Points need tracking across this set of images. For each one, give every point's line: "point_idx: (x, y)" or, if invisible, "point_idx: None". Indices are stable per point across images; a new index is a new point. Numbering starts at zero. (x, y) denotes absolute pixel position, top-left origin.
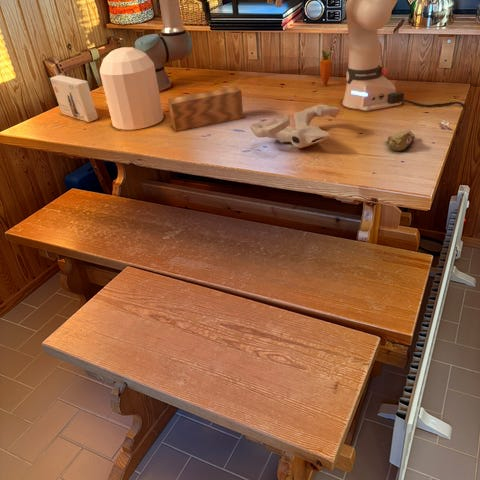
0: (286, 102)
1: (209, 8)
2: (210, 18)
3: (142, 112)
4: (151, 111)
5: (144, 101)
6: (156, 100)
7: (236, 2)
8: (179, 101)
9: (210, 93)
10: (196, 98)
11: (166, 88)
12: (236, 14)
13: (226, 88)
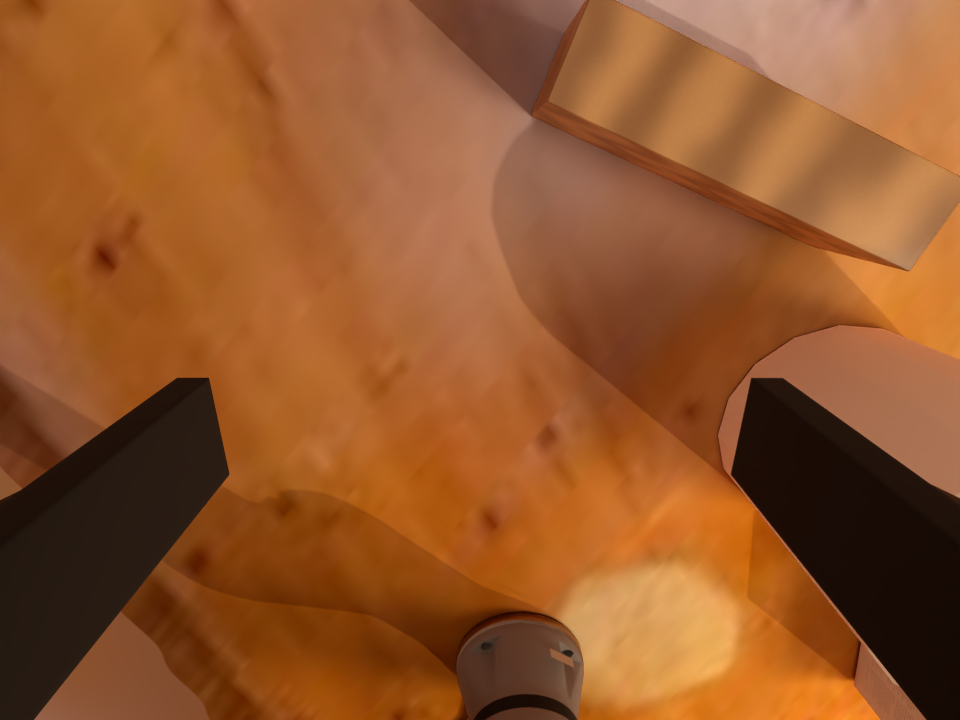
0: (261, 9)
1: (903, 484)
2: (786, 395)
3: (935, 351)
4: (884, 345)
5: (957, 366)
6: (861, 372)
7: (72, 484)
8: (924, 176)
9: (730, 133)
10: (841, 130)
11: (508, 617)
12: (210, 399)
13: (608, 124)
